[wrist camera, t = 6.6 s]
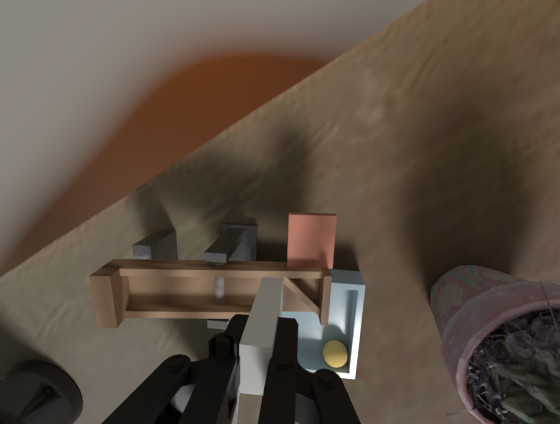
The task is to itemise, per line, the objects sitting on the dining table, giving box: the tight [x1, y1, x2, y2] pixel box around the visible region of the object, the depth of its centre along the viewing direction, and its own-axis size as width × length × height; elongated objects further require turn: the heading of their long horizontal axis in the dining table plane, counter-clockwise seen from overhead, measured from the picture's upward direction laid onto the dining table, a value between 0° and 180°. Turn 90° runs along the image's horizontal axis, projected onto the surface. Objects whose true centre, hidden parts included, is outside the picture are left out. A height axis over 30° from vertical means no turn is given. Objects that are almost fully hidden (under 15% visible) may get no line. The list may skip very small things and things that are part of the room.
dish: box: [282, 269, 365, 379], centre depth 38 cm, size 15×15×4 cm
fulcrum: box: [204, 223, 257, 330], centre depth 34 cm, size 5×10×10 cm, turn 178°
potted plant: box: [430, 265, 560, 424], centre depth 24 cm, size 18×20×25 cm
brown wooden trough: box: [89, 213, 337, 328], centre depth 28 cm, size 24×12×4 cm, turn 89°
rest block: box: [132, 230, 178, 260], centre depth 37 cm, size 2×6×6 cm, turn 179°
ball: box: [323, 340, 348, 368], centre depth 38 cm, size 4×4×4 cm
